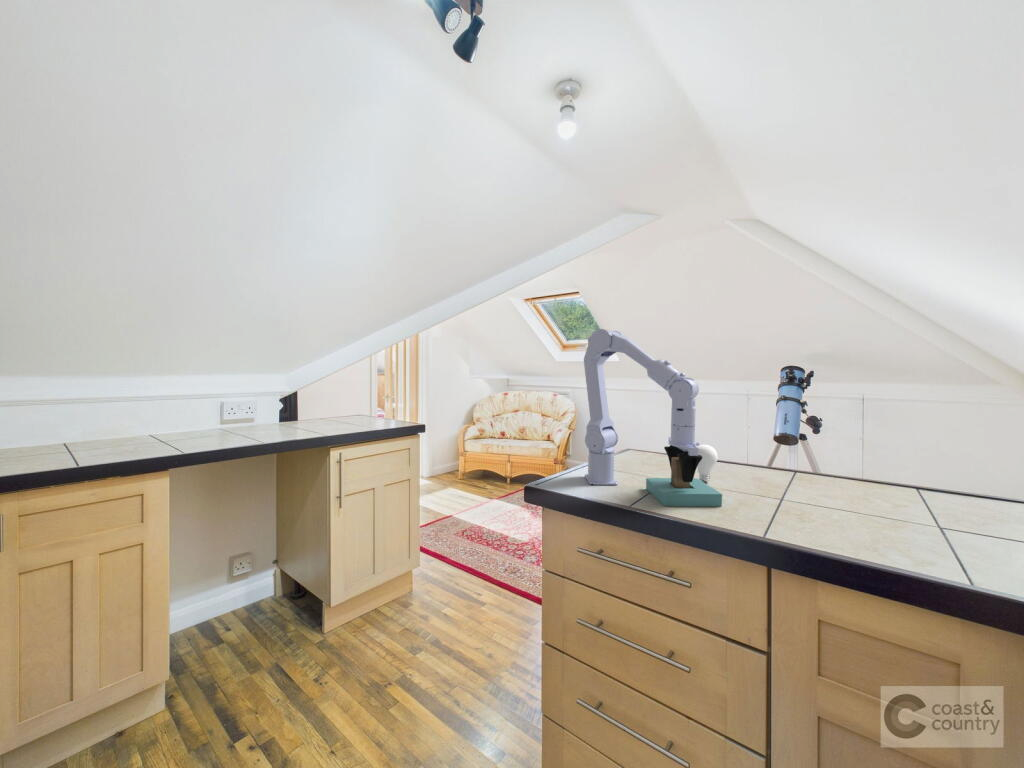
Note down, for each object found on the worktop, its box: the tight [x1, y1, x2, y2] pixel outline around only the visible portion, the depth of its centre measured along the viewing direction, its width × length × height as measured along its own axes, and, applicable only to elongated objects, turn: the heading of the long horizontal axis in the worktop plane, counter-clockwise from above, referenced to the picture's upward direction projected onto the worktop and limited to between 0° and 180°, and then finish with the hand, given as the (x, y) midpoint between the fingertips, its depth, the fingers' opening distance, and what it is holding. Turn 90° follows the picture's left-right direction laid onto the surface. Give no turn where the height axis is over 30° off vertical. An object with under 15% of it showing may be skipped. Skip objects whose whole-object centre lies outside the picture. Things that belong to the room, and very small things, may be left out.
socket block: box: [645, 477, 723, 507], centre depth 109 cm, size 14×14×3 cm
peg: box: [670, 457, 690, 488], centre depth 108 cm, size 4×4×10 cm
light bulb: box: [696, 444, 719, 483], centre depth 122 cm, size 7×7×11 cm
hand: (681, 477), depth 108 cm, fingers open, 7 cm apart
